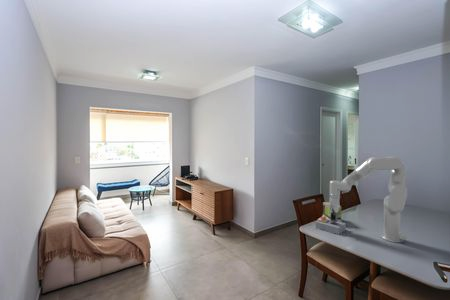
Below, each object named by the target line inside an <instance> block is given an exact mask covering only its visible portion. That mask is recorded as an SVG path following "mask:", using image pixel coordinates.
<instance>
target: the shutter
mask: <svg viewBox="0 0 450 300" xmlns="http://www.w3.org/2000/svg"><path fill="white" fill-rule="evenodd" d="M329 220H330V219H326V216H325V215H324V216H323V215H322V216H321V217H319V218H318V219H317V220H316V221H322V222H325V223H326V222H328V221H329Z"/></svg>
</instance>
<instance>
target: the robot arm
mask: <svg viewBox="0 0 450 300" xmlns="http://www.w3.org/2000/svg"><path fill="white" fill-rule="evenodd" d="M402 161H403V160H401V158H399V157H397V156H393V155H389V156H387V157H374V156H371V157H369V158H367V159H366V160H365V161H364V162H363V163H362V164H360V165H359V166H358V167H357V168H355V169H354V170H353V171H352V172H350V174H348V175H347V176H346V177H345V178H344V179H342V180H341V181H339V180H333V179H332V180H330V181H329V199H328V202H329V210H330V212H331V219H333V220H335V211H337V210H338V209H339V206H340V199H341V192H346V193H347V192H349V191H351V189H352V186H353V185H355V184H356V183H357V182H358V181H360V180H363V179H365V178H367V177H368V176H369V175H370V174H371V173H372V172H374V171H379V170H380V171H386V170H387V171H389V170H390V178H389V182H388V185H387V190H388V191H389V194H388V195H386V196H385V197H384V199H383V233H382V234H380V237H381V239H383V240H385V241H387V242H391V243H402V242H403V241H406V242H408V240H409V239H408V237H407V236H403V235H402V233H401V212H402V211H403V210H404V208H405V205H406V201H407V197H408V188H407V186H406V185H405V183H406V178H407V167H406V166H405V164H404V163H403V162H402ZM333 210H334V211H333Z"/></svg>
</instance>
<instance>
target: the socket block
mask: <svg viewBox="0 0 450 300" xmlns="http://www.w3.org/2000/svg"><path fill="white" fill-rule="evenodd" d="M315 228H316V229H318V228H319V229H318V230H321V229H322V231H325V230H326V232H328V231H329V232H328V233H333V234H335V233H336V234H335V235H340V234H342V233H343V232H344V231H345V230H346V223H345V222H342V221H341V222H338V221H337V222H336V223H335V222H332V221H331V220H329V221H328V222H326V223H325V222H322V221H318V220H316V221H315Z"/></svg>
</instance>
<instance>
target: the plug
mask: <svg viewBox="0 0 450 300" xmlns="http://www.w3.org/2000/svg"><path fill="white" fill-rule="evenodd" d="M333 211H334V210H333ZM331 221H332V222H335V223H336V222H337V221H338V210H337V211H335V220H333V219H331Z"/></svg>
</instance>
